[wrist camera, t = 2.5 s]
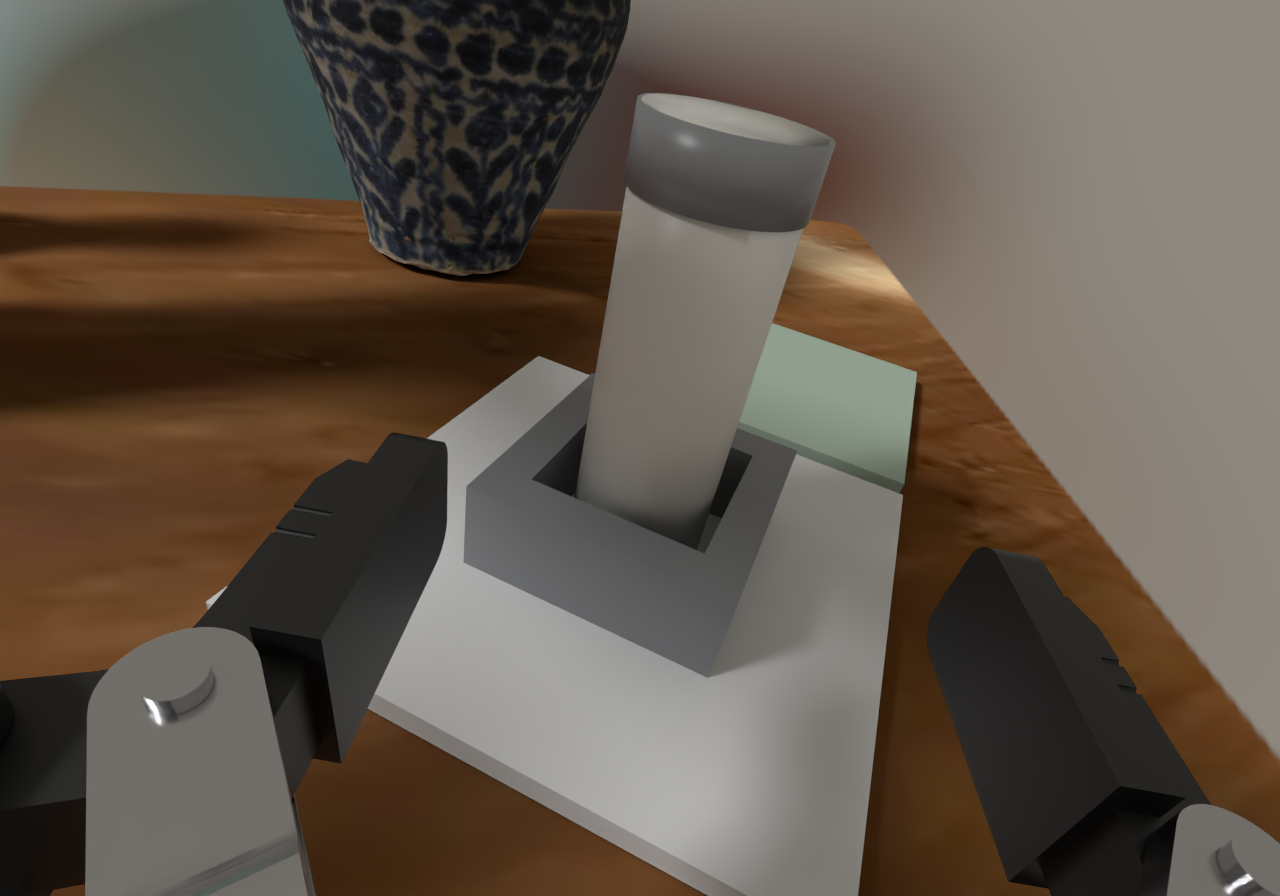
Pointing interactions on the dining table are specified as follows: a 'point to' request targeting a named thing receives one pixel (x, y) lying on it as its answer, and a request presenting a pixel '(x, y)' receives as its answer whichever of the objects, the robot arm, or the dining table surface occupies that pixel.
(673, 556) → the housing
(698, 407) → the cartridge
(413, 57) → the jug
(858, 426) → the mat
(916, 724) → the dining table surface
